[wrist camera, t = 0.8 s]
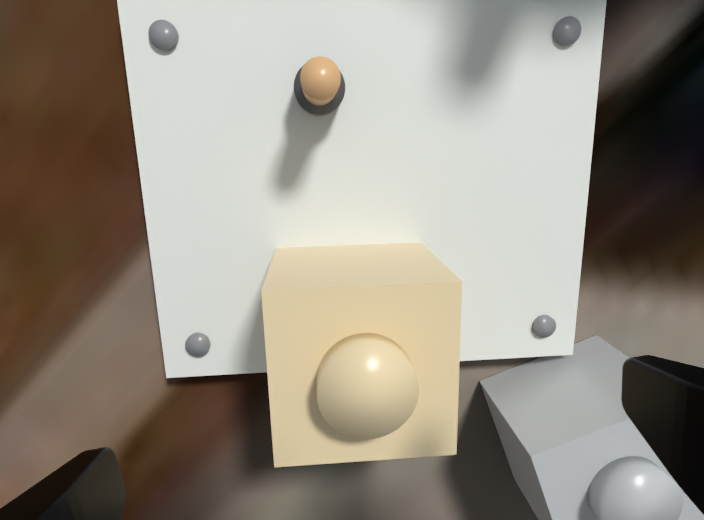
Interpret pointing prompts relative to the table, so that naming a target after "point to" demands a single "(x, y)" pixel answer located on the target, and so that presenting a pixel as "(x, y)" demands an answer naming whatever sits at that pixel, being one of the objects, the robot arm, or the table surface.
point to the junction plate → (363, 156)
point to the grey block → (580, 440)
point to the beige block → (361, 353)
